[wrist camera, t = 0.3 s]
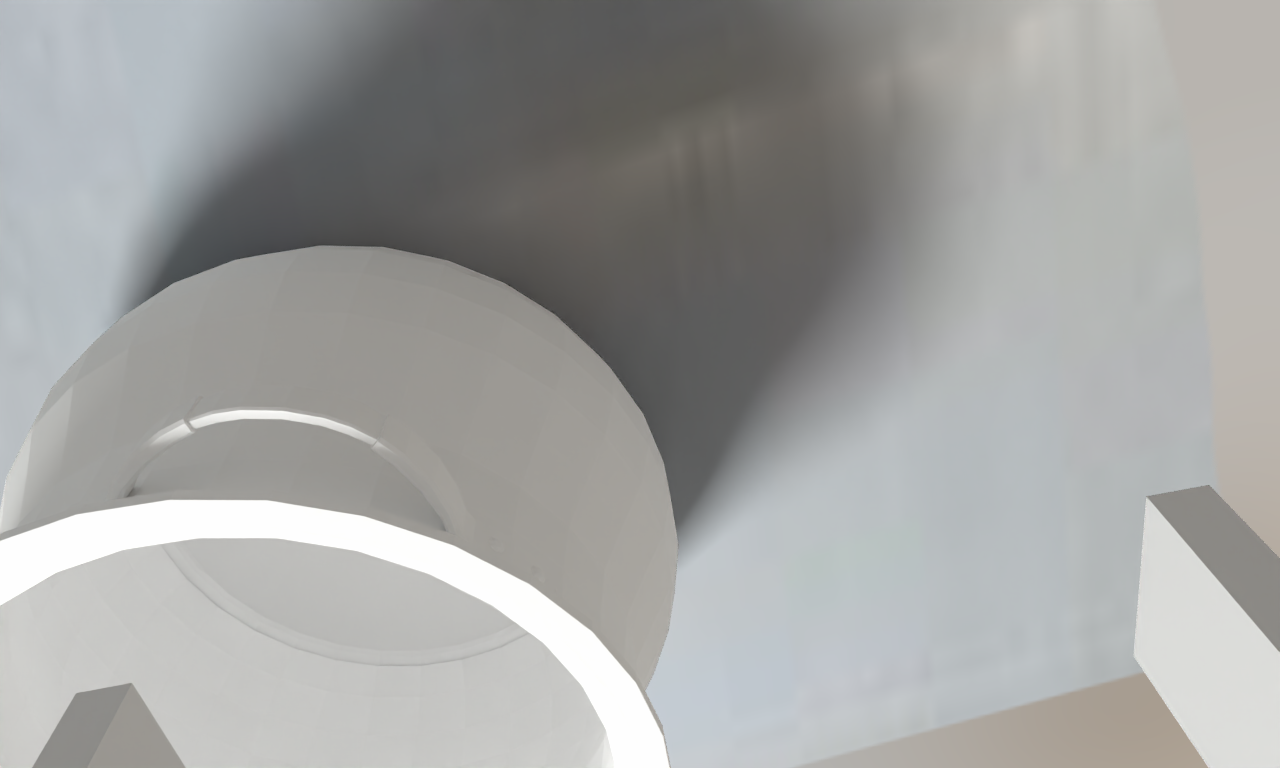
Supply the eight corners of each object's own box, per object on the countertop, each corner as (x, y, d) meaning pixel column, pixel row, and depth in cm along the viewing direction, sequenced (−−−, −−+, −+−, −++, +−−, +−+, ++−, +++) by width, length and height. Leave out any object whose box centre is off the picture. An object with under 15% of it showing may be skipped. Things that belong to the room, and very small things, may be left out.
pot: (624, 706, 50) (641, 1068, 35) (123, 674, 47) (-86, 1052, 32) (715, 236, 38) (799, 490, 23) (45, 154, 35) (-345, 384, 20)
